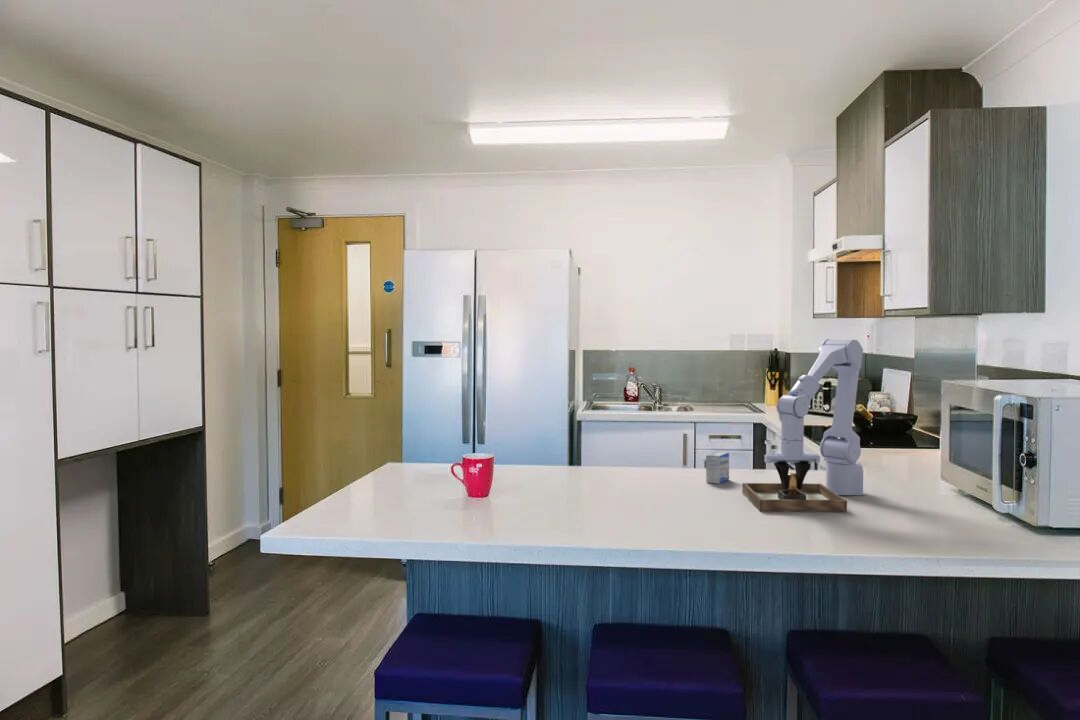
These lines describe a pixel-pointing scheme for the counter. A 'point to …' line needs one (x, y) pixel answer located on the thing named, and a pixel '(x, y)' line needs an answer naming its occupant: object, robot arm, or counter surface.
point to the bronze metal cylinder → (792, 484)
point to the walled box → (793, 498)
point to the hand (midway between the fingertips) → (791, 488)
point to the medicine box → (717, 467)
